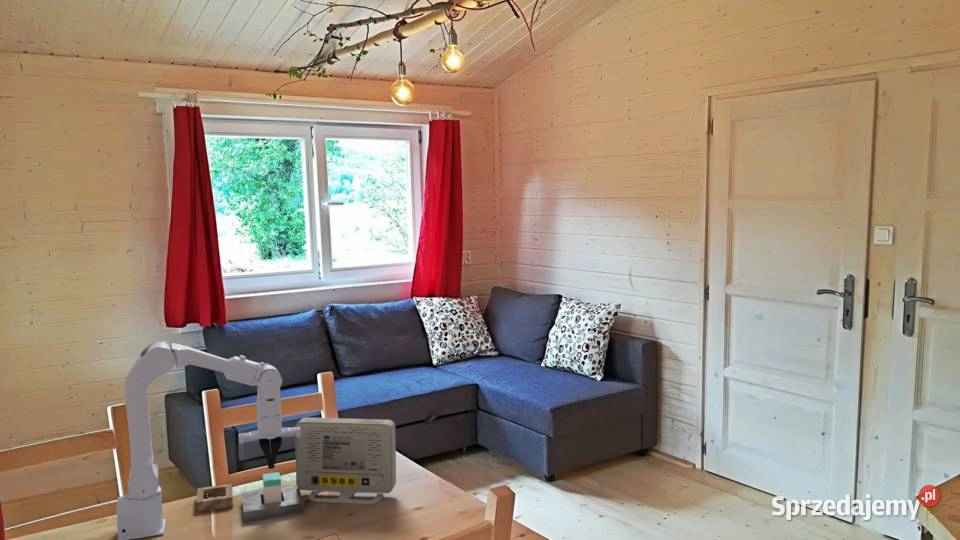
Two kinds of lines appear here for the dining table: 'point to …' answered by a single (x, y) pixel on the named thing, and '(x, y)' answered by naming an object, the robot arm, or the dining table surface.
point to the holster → (214, 502)
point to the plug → (272, 488)
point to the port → (272, 504)
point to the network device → (346, 457)
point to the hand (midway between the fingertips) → (271, 467)
